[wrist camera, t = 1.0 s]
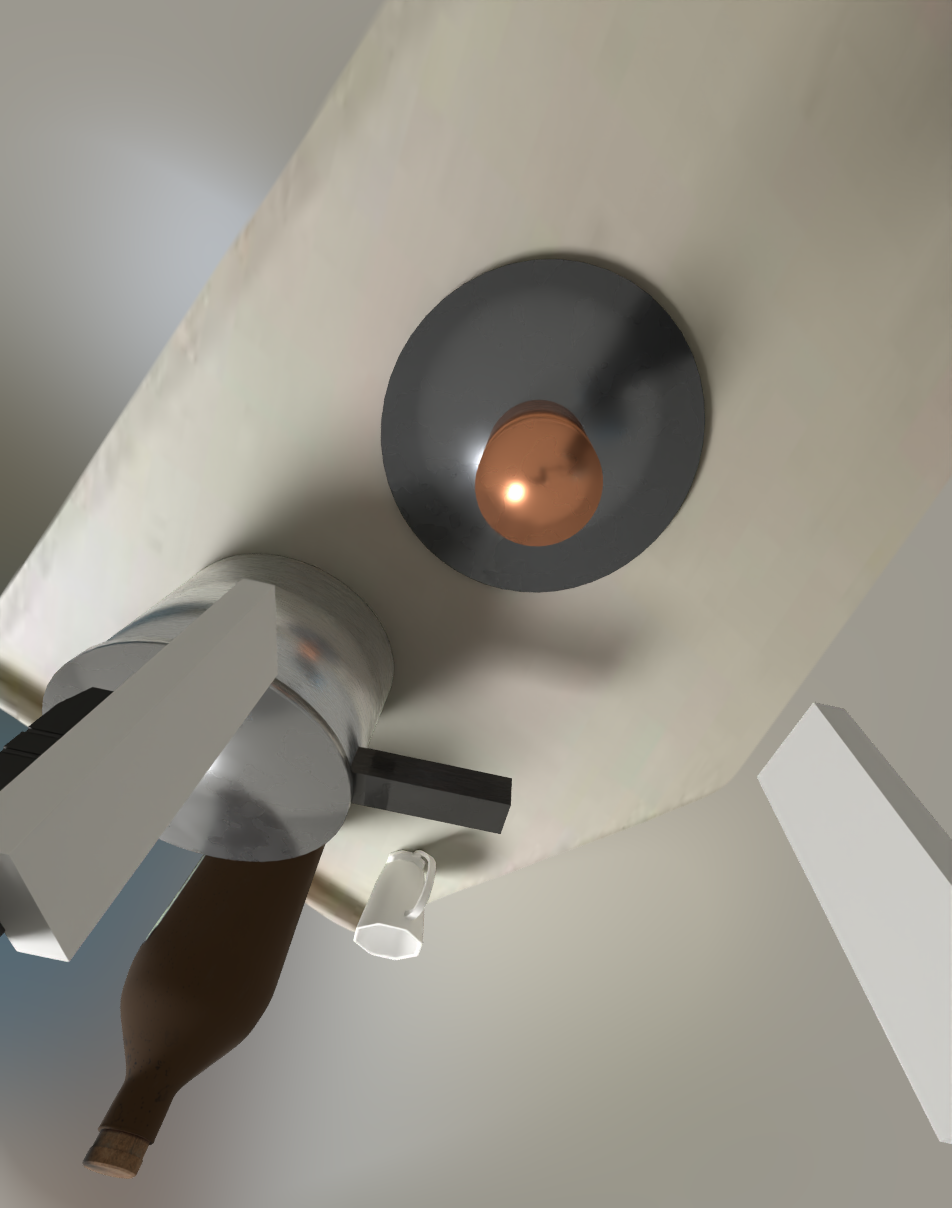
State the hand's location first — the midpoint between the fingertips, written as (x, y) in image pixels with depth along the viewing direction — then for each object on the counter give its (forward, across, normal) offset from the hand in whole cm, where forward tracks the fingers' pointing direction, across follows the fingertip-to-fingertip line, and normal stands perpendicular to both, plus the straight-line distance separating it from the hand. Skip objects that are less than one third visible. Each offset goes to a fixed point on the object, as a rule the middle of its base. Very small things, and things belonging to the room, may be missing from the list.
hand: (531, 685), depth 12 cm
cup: (+21, -2, -44) cm, 49 cm away
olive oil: (+21, -16, -39) cm, 47 cm away
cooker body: (+21, -11, -19) cm, 30 cm away
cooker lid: (+21, 0, +1) cm, 21 cm away
